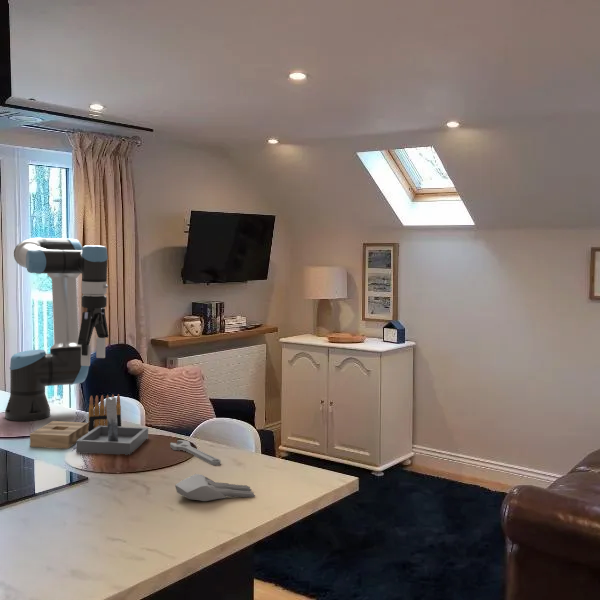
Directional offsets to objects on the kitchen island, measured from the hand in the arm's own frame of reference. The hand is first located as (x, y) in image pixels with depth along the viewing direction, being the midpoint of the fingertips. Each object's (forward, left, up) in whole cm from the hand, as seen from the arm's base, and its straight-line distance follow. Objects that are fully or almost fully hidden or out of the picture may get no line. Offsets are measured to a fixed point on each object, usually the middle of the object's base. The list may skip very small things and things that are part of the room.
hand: (93, 361), depth 224 cm
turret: (+44, +48, -26) cm, 70 cm away
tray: (+5, +9, -25) cm, 27 cm away
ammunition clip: (-12, 0, -25) cm, 28 cm away
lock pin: (+5, +9, -24) cm, 26 cm away
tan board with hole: (+3, -9, -25) cm, 27 cm away
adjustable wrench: (+11, +35, -26) cm, 45 cm away
